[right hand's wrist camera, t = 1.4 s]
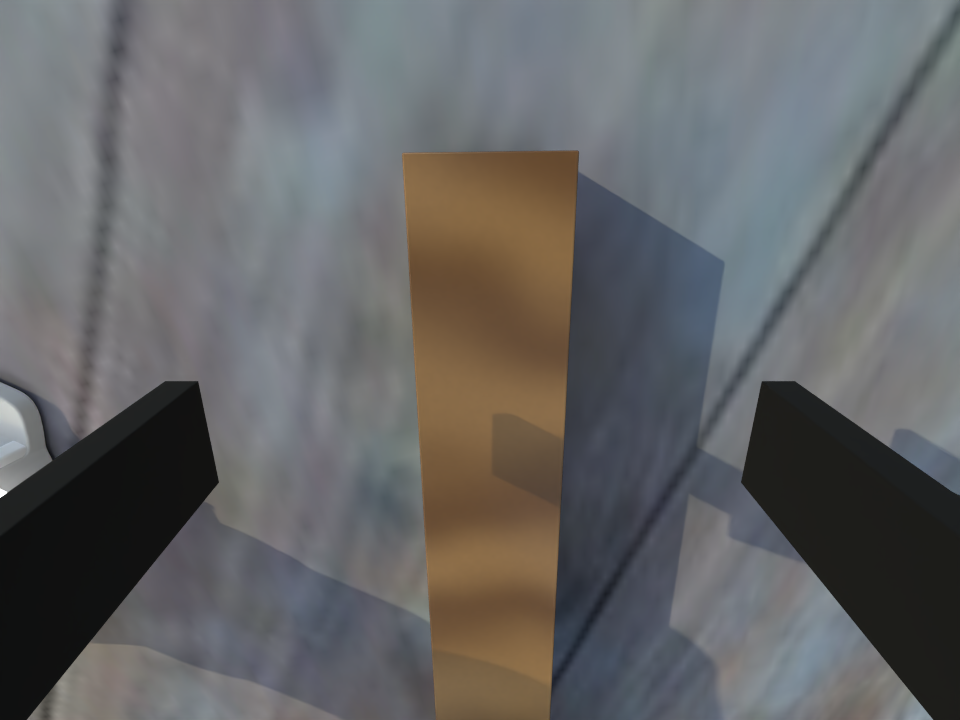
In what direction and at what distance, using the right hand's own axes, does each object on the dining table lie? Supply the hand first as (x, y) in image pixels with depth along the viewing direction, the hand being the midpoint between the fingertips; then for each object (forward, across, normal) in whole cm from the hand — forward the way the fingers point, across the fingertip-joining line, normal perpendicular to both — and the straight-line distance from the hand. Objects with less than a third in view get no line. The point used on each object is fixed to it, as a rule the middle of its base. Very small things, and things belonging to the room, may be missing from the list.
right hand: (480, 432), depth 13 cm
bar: (+15, +1, -20) cm, 25 cm away
